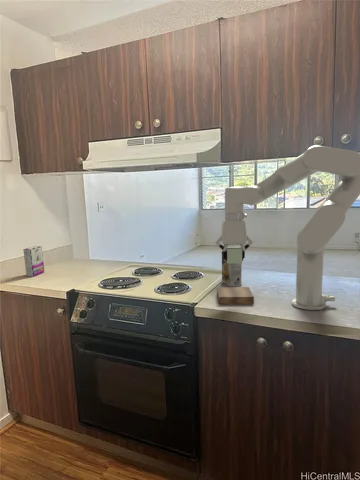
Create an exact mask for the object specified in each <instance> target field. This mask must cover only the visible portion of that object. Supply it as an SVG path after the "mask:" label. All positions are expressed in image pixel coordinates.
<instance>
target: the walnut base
mask: <svg viewBox="0 0 360 480" xmlns="http://www.w3.org/2000/svg"><path fill="white" fill-rule="evenodd" d="M216 290H217V291H216V293H217V294H216V295H217V301H218V304H219V305H254V304H255V297H254V294H253V292H252V291H251V289H250V287H249V286H232V287H230V286H221V287H219V286H218V287H216Z"/></svg>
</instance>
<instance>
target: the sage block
mask: <svg viewBox="0 0 360 480" xmlns="http://www.w3.org/2000/svg"><path fill="white" fill-rule="evenodd" d="M226 250H227V264H232V263H242V264H243V261H242V248H241V246H228V247H227V249H226Z"/></svg>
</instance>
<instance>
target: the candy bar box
mask: <svg viewBox="0 0 360 480" xmlns="http://www.w3.org/2000/svg"><path fill="white" fill-rule="evenodd" d="M43 255H44V254H43V246H42V245H34V246H30V247H27V248H24V249H23V258H24V266H25V275H26V277H28V278H34V277H37V276H39V275H41V274H43V273H45V266H44V264H45V263H44V256H43Z"/></svg>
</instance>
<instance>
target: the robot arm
mask: <svg viewBox="0 0 360 480" xmlns="http://www.w3.org/2000/svg"><path fill="white" fill-rule="evenodd" d="M317 172H321V173H327V174H332V175H338V182H337V184H336V185H335V187H334V188H333V189H332V191H331V192H330V193H329V195H328V196H327V197H326V199H324V200H323V202H322V203H321V204H320V205H319V206H318V208H316V211H315V213H314V214H313V216H312V217H311V218H310V220H308V222H307V223H306V225H304V226H302V227H301V228H300V230H299V231H298V232H297V234H296V272H295V273H296V275H295V277H296V278H295V282H296V283H295V285H296V286H295V298H293V299H292V300H291V305H293V307H295V308H297V309H300V310H305V311H306V310H307V311H321V310H323V309H325V308H326V307H327V302H335V300H336V297H335V296H330V295H329V294H326V295H325V294H324V293H323V276H324V275H323V274H324V248H325V247H326V246H327V245H328V243H329V242H330V241H331V240H332V238H333V237H334V236H335V235H336V233H337V232H338V231H339V230H340V229H341V228H342V226H343V224H344V223H345V220H346V213H347V212H348V211H349V209H350V208H351V207H352V206H353V204H354V203H355V202H356V201H357V199H358V198H359V196H360V152H359V151H357V150H350V149H344V148H343V149H342V148H338V147H330V146H324V145H311V146H310V147H309V148H307V149H306V150H305V151H304V152H303V153H302V154H300V155H298V156H297V157H295V158H293V159H292V160H290V161H288V162H286V163H285V164H283V165H281V166H279V167H278V168H277V169H276V170H274V172H273V173H272V174H271V175H269V176H268V177H266V178H265V179H263V180H261V181H260V182H258V183H257V184H255V185H249V186H243V187H241V186H230V187H229V186H228V187H226V188H225V189H224V220H223V221H222V226H221V236H219V237H218V238H217V240H215V244H216V246H218V247H219V248H220V249H221V250H222V251H223V258H225V261H227V250H226V249H227V247H229V246H230V245H232V246H236V245H237V246H238V245H240V246H239V247H241V248H242V262H244V259H245V258H246V256H245V255H246V254H245V253H246V252H245V251H246V250H247V249H248V248H249V247H250V246H251V245H252V244H254V241H253V240H252V239H251V238H249V236H248V234H247V225H246V224H247V223H246V220H245V219H246V218H247V217H248V214H246V213H244V205H247V206H255V205H258V204H260V203H262V202H264V201H266V200H268V199H269V198H271V197H273V196H275V195H276V194H278V193H280V192H282V191H284V190H287V189H289V188H291V187H293V186H294V185H296V184H298V183H299V182H301V181H303V180H304V179H306V178H308V177H310V176H312V175H314V174H315V173H317ZM221 242H222V243H221ZM222 244H223V245H222Z"/></svg>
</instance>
